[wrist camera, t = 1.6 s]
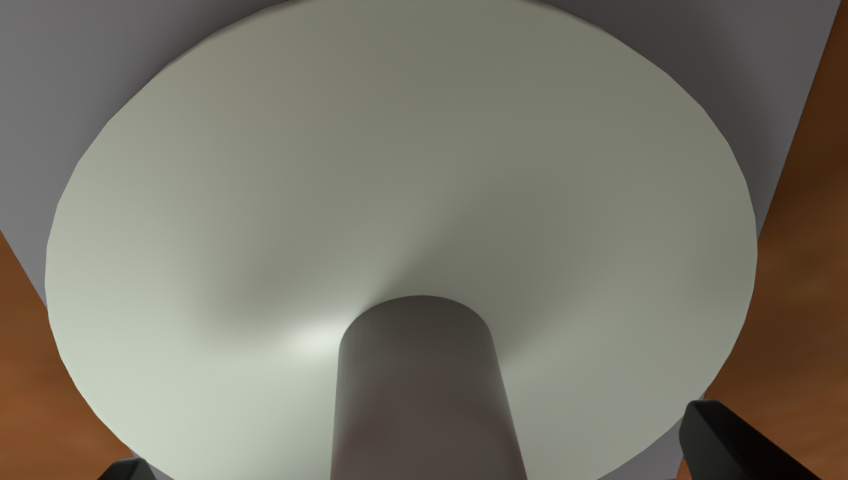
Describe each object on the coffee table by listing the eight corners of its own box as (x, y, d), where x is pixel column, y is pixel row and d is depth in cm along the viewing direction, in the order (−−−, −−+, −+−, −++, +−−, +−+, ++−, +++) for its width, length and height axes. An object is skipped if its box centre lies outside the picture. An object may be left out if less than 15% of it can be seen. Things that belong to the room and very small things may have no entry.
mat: (665, 459, 16) (675, 478, 16) (184, 510, 16) (178, 531, 15) (844, -99, 8) (874, -96, 8) (-115, -27, 8) (-148, -20, 7)
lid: (661, 468, 15) (767, 689, 11) (192, 518, 15) (124, 766, 11) (827, -54, 8) (1303, 35, 4) (-87, 19, 8) (-618, 202, 4)
